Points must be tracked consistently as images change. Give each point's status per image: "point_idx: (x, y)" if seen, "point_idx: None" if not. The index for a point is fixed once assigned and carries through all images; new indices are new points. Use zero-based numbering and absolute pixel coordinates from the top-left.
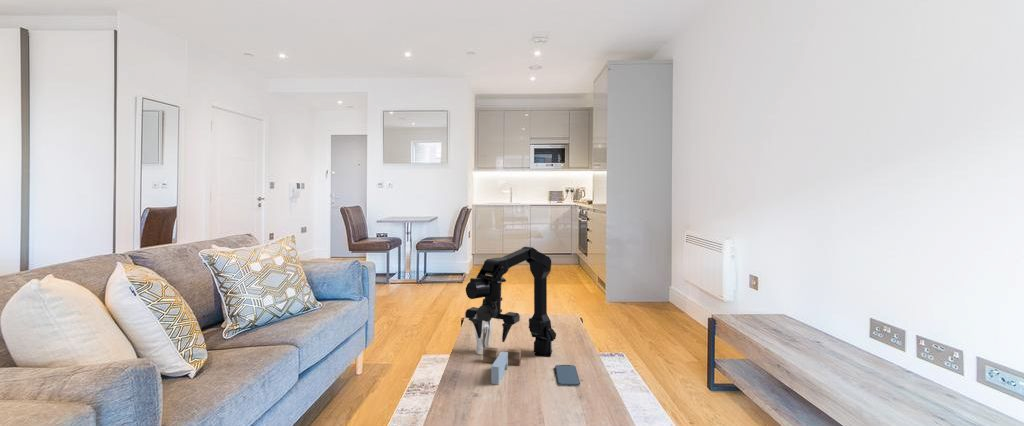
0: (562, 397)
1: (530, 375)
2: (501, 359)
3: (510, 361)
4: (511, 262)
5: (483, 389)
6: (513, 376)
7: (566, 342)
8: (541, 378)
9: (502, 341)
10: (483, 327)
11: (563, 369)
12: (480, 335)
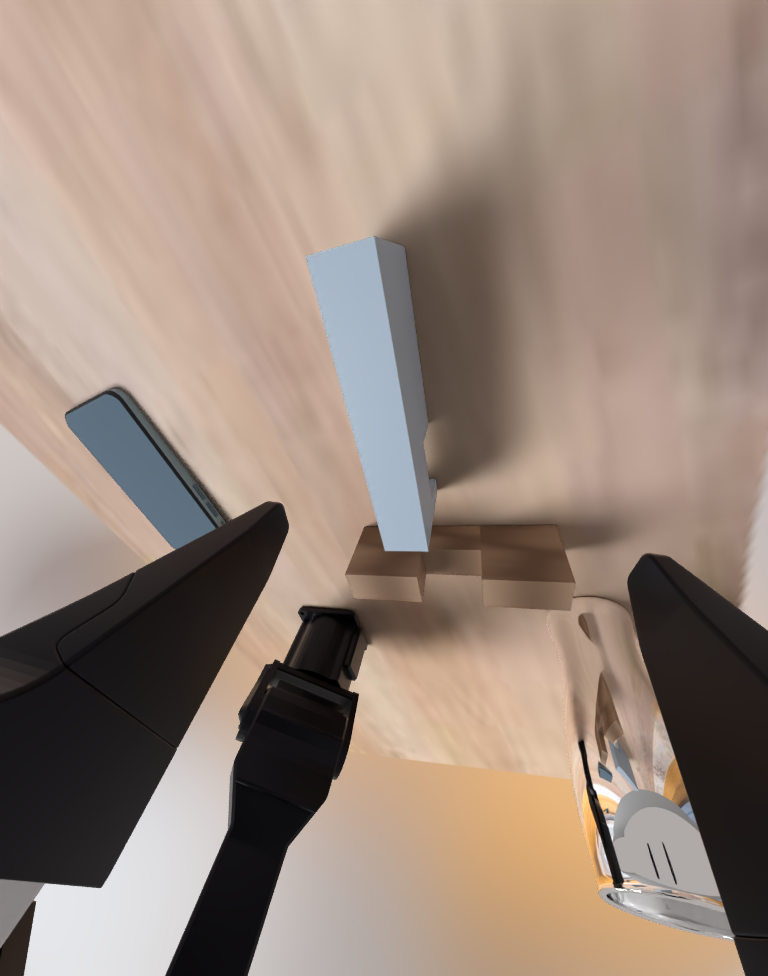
0: (17, 264)
1: (273, 449)
2: (365, 431)
3: None
4: None
5: (423, 99)
6: (334, 413)
7: None
8: (218, 434)
9: (274, 505)
10: (634, 775)
11: (182, 515)
12: (645, 602)
